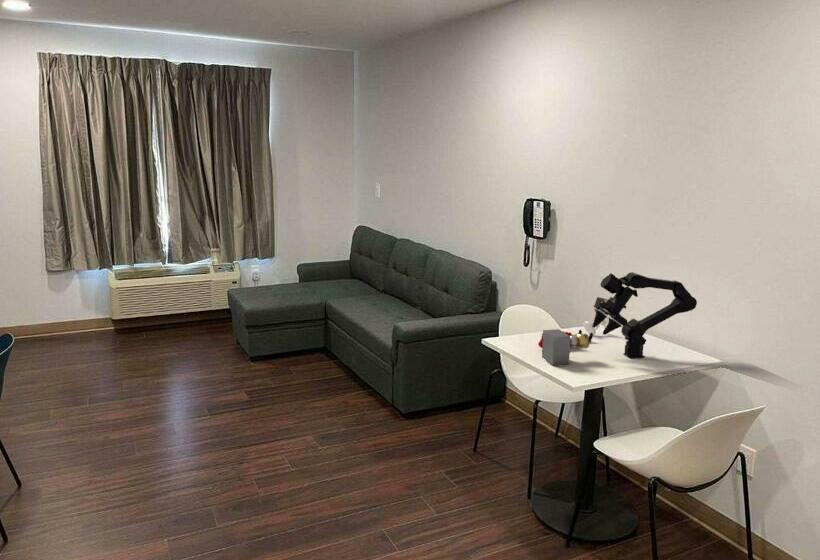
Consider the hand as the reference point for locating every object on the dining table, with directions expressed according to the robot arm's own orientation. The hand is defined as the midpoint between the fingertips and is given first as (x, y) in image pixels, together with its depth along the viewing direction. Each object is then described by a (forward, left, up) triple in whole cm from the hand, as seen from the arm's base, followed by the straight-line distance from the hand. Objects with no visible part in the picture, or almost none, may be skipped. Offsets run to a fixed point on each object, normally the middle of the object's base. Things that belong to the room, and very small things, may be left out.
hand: (598, 330), depth 265 cm
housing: (+19, +2, -12) cm, 22 cm away
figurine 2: (-15, -32, -12) cm, 38 cm away
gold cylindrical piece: (+10, +2, -7) cm, 12 cm away
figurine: (+7, -18, -12) cm, 23 cm away
